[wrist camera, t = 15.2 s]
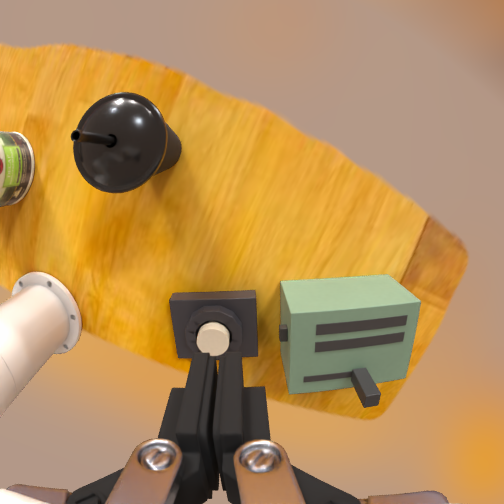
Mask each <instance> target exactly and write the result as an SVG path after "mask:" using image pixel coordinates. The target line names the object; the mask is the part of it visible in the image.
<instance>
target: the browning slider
mask: <svg viewBox="0 0 504 504" xmlns="http://www.w3.org/2000/svg"><path fill="white" fill-rule="evenodd" d="M351 382H352V384H353V386H354V388H355V390H356V392H357V394H358V396H359V399H360V401H361V403H362V405H363V407H364V408H366V407H371V406H377V405H378V404H379V400H380V396H381V393H380V391H379V389H378V388H377V386H376V384H375V382H374V381H373V379H372V377H371V375H370V374H369V372H368V370H367V368H358V369H353V370H352V377H351Z"/></svg>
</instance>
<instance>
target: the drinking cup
mask: <svg viewBox="0 0 504 504" xmlns="http://www.w3.org/2000/svg"><path fill="white" fill-rule="evenodd" d="M71 139H72V141H74V146H73V149H74V158H75V162H76V165H77V167H78V170H79V171H80V173H81V175H82V176H83V178H84V179H85V180H86V181H87V182H88V183H89V184H90V185H92V186H93V187H95V188H96V189H99V190H101V191H104V192H108V193H124V192H128V191H131V190H134V189H136V188H138V187H140V186H142V185H143V184H144V183H146V182H147V181H148V180H149V179H150V178H151V177H152V176H154V175H156V174H158V173H160V172H162V171H164V170H167V169H169V168H170V167H172V166H173V165H174V164H175V163H176V162H177V161H178V159H179V157H180V154H181V142H180V140H179V138H178V136H177V135H176V134H175V133H174V132H173V131H172V129H171V128H170V127H169V126H168V125H167V124H166V123H165V121H164V118H163V116H162V114H161V113H160V111H159V110H158V108H157V107H156V106H155V105H154V104H153V103H152V102H151V101H149V100H148V99H146V98H145V97H143V96H141V95H138V94H135V93H129V92H121V93H114V94H111V95H108V96H106V97H104V98H102V99H100V100H99V101H97V102H96V103H94V104H93V105H92V106H91V107H90V108H89V109H88V110H87V111H86V113H85V114H84V115H83V117H82V119H81V120H80V122H79V124H78V127H77V129H76V130H75V131H73V132H72V134H71Z"/></svg>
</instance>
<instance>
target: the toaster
mask: <svg viewBox="0 0 504 504" xmlns="http://www.w3.org/2000/svg"><path fill="white" fill-rule="evenodd" d="M420 304H421V301H420V300H419V299H418V298H416V297H415V296H414V295H413V294H412V293H410V292H409V291H408V290H407V289H405V288H404V287H403V286H402V285H401V284H399V283H398V282H397V281H396V280H394V279H393V278H392V277H391V276H389V275H388V274H385V275H372V276H357V277H342V278H326V279H308V280H290V281H280V305H281V325H279V339H280V342H281V357H282V362H283V367H284V372H285V377H286V382H287V387H288V392H289V394H300V393H310V392H319V391H328V390H336V389H344V388H351V387H354V386H353V384H352V382H351V377H352V370H353V369H358V368H367V370H368V372H369V374H370V375H371V377H372V379H373V381H374V382H375V384H376V383H382V382H388V381H393V380H398V379H403V378H406V374H407V370H408V365H409V361H410V357H411V352H412V347H413V343H414V338H415V333H416V327H417V322H418V316H419V310H420Z"/></svg>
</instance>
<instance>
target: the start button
mask: <svg viewBox="0 0 504 504" xmlns="http://www.w3.org/2000/svg"><path fill="white" fill-rule="evenodd" d="M229 338H230V334H229V331H228V329H227V328H226V327H225V326H224V325H223V324H221V323H219V322H207V323H205V324H204V325H202V326H201V327H200V329H199V332H198V336H197V346H198V348H199V349H200V350H201V351H202V352H203V353H208V352H209V353H210V356H218V355H221V354H223V353H224V352H225V351H226V350H227V349H228V347H229Z"/></svg>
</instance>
